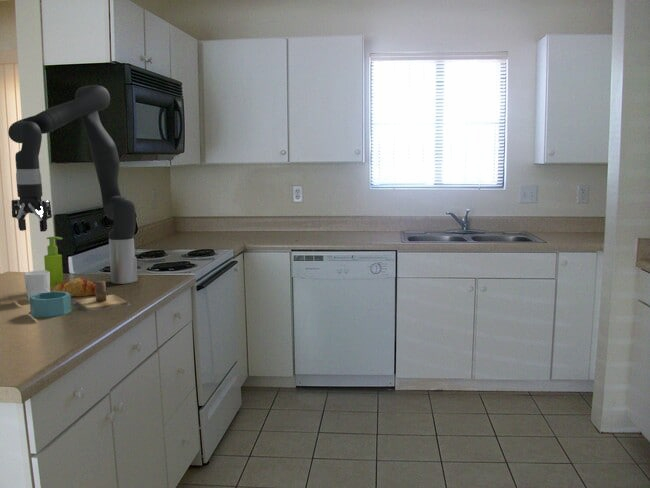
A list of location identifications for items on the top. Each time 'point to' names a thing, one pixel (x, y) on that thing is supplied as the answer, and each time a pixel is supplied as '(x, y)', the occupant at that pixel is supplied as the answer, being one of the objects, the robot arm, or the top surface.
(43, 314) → the bowl
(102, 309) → the mat
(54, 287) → the croissant
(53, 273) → the soap dispenser
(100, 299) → the lid
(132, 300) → the top surface
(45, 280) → the white cup
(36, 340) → the top surface
